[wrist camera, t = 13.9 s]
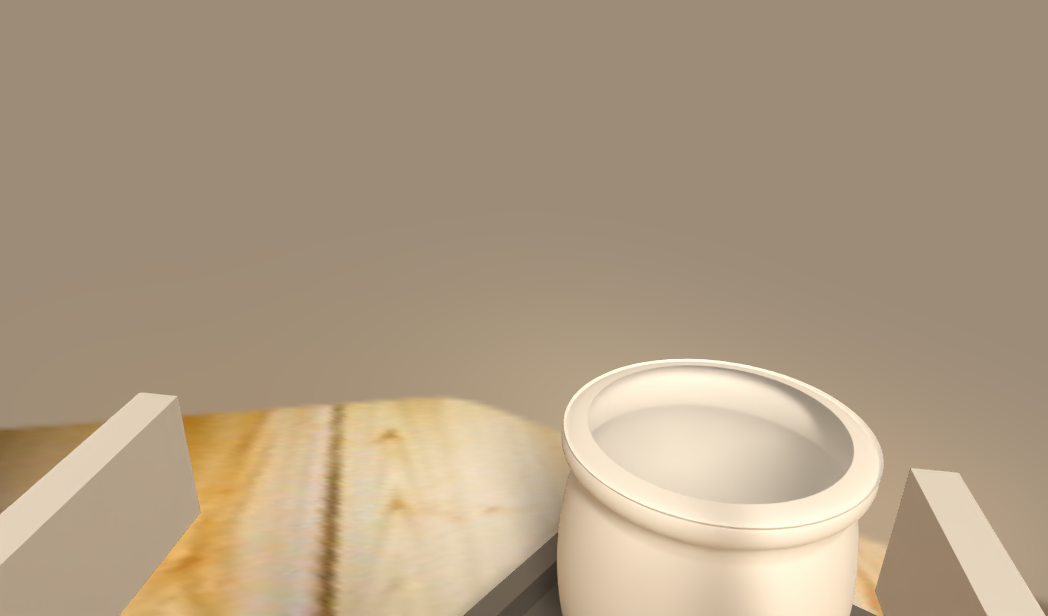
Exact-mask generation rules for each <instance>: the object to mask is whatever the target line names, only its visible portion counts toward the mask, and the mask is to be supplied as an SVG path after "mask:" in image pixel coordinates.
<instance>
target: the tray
mask: <svg viewBox="0 0 1048 616" xmlns="http://www.w3.org/2000/svg"><path fill="white" fill-rule="evenodd" d="M557 542H558V533H557V534H556V535H555V536H553V537H552V538H551V539H550V540H549V541H548V542H547V543H545V544H544V545H543V546H542V547H541V548H540V549H539V550H538V551H536V552H535V553H534V554H533V555H532V556H531V557H530V558H528V559H527V560H526V561H525V562H524V563H523V564H522V565H520V566H519V567H518V568H517V569H516V570H515V571H514V572H512V573H511V574H510V575H509V576H508V577H507V578H506V579H505V580H503V581H502V582H501V583H500V584H499V585H498V586H497V587H495V588H494V589H493V590H492V591H491V592H490V593H489V594H487V595H486V596H485V597H484V598H483V599H482V600H481V601H479V602H478V603H477V604H476V605H475V606H474V607H473V608H472V609H470V610H469V611H468V612H467V613H466V614H465V615H464V616H563V615H562V610H561V604H560V597H559V589H558V577H557ZM850 616H876V615H874V614H872V613H870V612H868V611H866V610H863V609H861V608H859V607H857V606H855V605H853V604H852V609H851V613H850Z"/></svg>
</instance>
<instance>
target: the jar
mask: <svg viewBox="0 0 1048 616" xmlns="http://www.w3.org/2000/svg"><path fill="white" fill-rule="evenodd" d="M562 447H563V451H564V454H565V458H566V460H567V463H568V465H569V467H570V469H571V471H570V474H569V477H568V481H567V485H566V489H565V493H564V498H563V503H562V509H561V515H560V522H559V530H558V542H557V577H558V589H559V597H560V604H561V610H562V615H563V616H850V613H851V609H852V604H853V599H854V593H855V586H856V579H857V568H858V552H859V530H858V519H859V518H860V517H861V516H862V515H863V514H864V513H865V512H866V511H867V510H868V508H869V507H870V505H871V504H872V502H873V500H874V498H875V496H876V494H877V491H878V487H879V482H880V480H881V477H882V474H883V468H884V459H883V454H882V450H881V447H880V444H879V442H878V440H877V439H876V437H875V435H874V434H873V432H872V431H871V429H870V428H869V427H868V426H867V424H866V423H865V422H864V421H863V420H862V419H861V418H860V417H859V416H858V415H857V414H855V413H854V412H853V411H852V410H850V409H849V408H848V407H847V406H845V405H844V404H842V403H841V402H840V401H838V400H836V399H835V398H833V397H832V396H830V395H828V394H826V393H825V392H822V391H820V390H819V389H817V388H815V387H813V386H810V385H808V384H806V383H804V382H801V381H799V380H796V379H794V378H791V377H788V376H785V375H782V374H779V373H776V372H772V371H769V370H765V369H761V368H757V367H753V366H748V365H743V364H737V363H731V362H724V361H715V360H701V359H670V360H658V361H650V362H643V363H639V364H634V365H630V366H625V367H622V368H619V369H616V370H613V371H610V372H608V373H606V374H603V375H601V376H599V377H597V378H595V379H594V380H592V381H590V382H589V383H587V384H586V385H585V386H583V387H582V388H581V389H580V390H579V391H578V392H577V393H576V394H575V395H574V397H573V398H572V399H571V401H570V402H569V404H568V406H567V408H566V411H565V415H564V421H563V426H562Z"/></svg>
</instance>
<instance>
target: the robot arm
mask: <svg viewBox="0 0 1048 616" xmlns="http://www.w3.org/2000/svg"><path fill="white" fill-rule="evenodd" d="M200 513H201V511H200V506H199V501H198V496H197V491H196V486H195V481H194V476H193V471H192V466H191V461H190V456H189V451H188V446H187V441H186V436H185V431H184V426H183V420H182V415H181V410H180V405H179V400H178V397H177V396H171V395H161V394H151V393H139V394H137V395H136V396H135V397H134V398H133V399H132V400H130V401H129V402H128V403H127V404H126V405H125V406H124V407H122V408H121V409H120V410H119V411H118V412H117V413H116V414H114V415H113V416H112V417H111V418H110V419H109V420H108V421H106V422H105V423H104V424H103V425H102V426H101V427H100V428H98V429H97V430H96V431H95V432H94V433H93V434H92V435H90V436H89V437H88V438H87V439H86V440H85V441H83V442H82V443H81V444H80V445H79V446H78V447H77V448H75V449H74V450H73V451H72V452H71V453H70V454H69V455H67V456H66V457H65V458H64V459H63V460H62V461H61V462H59V463H58V464H57V465H56V466H55V467H54V468H53V469H51V470H50V471H49V472H48V473H47V474H46V475H45V476H43V477H42V478H41V479H40V480H39V481H38V482H37V483H35V484H34V485H33V486H32V487H31V488H30V489H29V490H27V491H26V492H25V493H24V494H23V495H22V496H21V497H19V498H18V499H17V500H16V501H15V502H14V503H13V504H11V505H10V506H9V507H8V508H7V509H6V510H5V511H3V512H2V513H1V514H0V616H119V615H120V614H121V613H122V611H123V610H124V609H125V608H126V606H127V605H128V604H129V603H130V601H131V600H132V599H133V598H134V596H135V595H136V594H137V592H138V591H139V590H140V589H141V587H142V586H143V585H144V584H145V582H146V581H147V580H148V579H149V577H150V576H151V575H152V573H153V572H154V571H155V570H156V568H157V567H158V566H159V565H160V563H161V562H162V561H163V560H164V558H165V557H166V556H167V554H168V553H169V552H170V551H171V549H172V548H173V547H174V546H175V544H176V543H177V542H178V541H179V539H180V538H181V537H182V535H183V534H184V533H185V532H186V530H187V529H188V528H189V527H190V525H191V524H192V523H193V522H194V520H195V519H196V518H197V516H198V515H199V514H200ZM875 592H876V595H877V598H878V601H879V603H880V606H881V609H882V612H883V614H884V616H1046V615H1045V614H1044V612H1043V611H1042V609H1041V607H1040V606H1039V604H1038V602H1037V601H1036V599H1035V597H1034V596H1033V594H1032V592H1031V591H1030V589H1029V588H1028V586H1027V584H1026V583H1025V581H1024V579H1023V578H1022V576H1021V574H1020V573H1019V571H1018V570H1017V568H1016V566H1015V564H1014V563H1013V561H1012V560H1011V558H1010V557H1009V555H1008V553H1007V551H1006V550H1005V548H1004V546H1003V545H1002V543H1001V541H1000V540H999V538H998V537H997V535H996V533H995V532H994V530H993V528H992V527H991V525H990V523H989V522H988V520H987V519H986V517H985V515H984V514H983V512H982V510H981V509H980V507H979V506H978V504H977V502H976V500H975V499H974V497H973V496H972V494H971V492H970V491H969V489H968V487H967V486H966V484H965V482H964V481H963V479H962V477H961V476H960V474H959V473H957V472H946V471H935V470H926V469H915V468H910V471H909V475H908V478H907V482H906V485H905V489H904V492H903V496H902V499H901V502H900V506H899V509H898V513H897V517H896V520H895V523H894V527H893V530H892V534H891V537H890V541H889V544H888V547H887V551H886V554H885V558H884V561H883V565H882V568H881V572H880V575H879V579H878V582H877V586H876V589H875Z"/></svg>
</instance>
